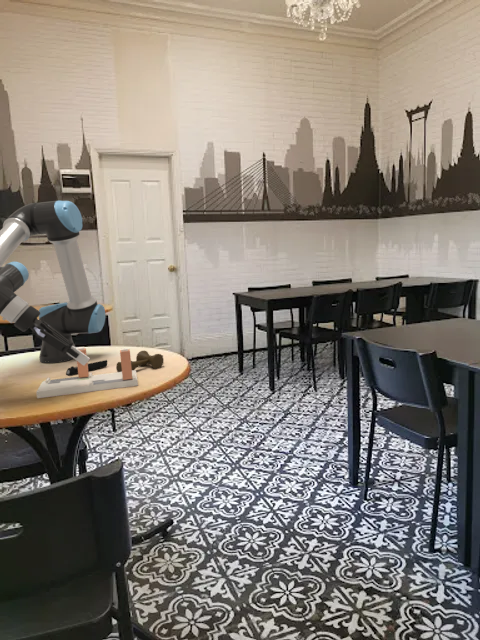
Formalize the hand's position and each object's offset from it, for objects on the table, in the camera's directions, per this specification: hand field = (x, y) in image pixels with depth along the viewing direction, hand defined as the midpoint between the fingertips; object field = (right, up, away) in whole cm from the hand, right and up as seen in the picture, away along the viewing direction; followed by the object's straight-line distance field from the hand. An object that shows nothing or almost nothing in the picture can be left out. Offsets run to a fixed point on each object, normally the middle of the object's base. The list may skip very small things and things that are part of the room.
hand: (86, 362), depth 145 cm
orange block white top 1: (-4, -6, +10) cm, 13 cm away
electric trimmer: (-9, -6, +28) cm, 30 cm away
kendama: (+12, -5, +25) cm, 29 cm away
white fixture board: (-1, -8, +6) cm, 11 cm away
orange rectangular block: (+12, -6, +4) cm, 14 cm away
